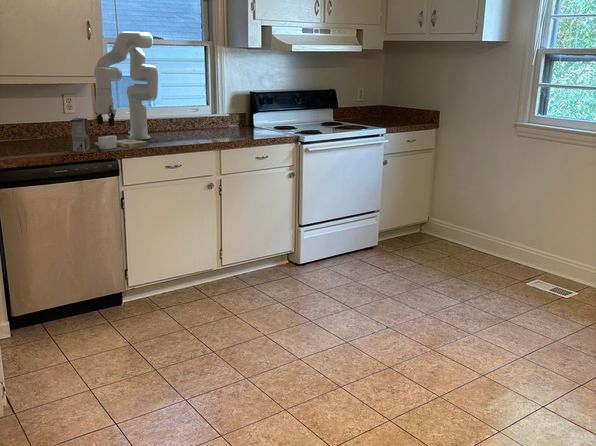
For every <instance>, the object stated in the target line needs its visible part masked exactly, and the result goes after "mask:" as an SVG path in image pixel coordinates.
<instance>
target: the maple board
mask: <svg viewBox="0 0 596 446" xmlns="http://www.w3.org/2000/svg"><path fill="white" fill-rule="evenodd" d="M146 145H149V143H148V141H144V140H136V139H129V138H126V139H117V147H122V148H128V149H131V148H138V147H147V146H146Z"/></svg>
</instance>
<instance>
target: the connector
mask: <svg viewBox="0 0 596 446" xmlns="http://www.w3.org/2000/svg"><path fill="white" fill-rule="evenodd" d="M117 138H118V137H117V135H105V136H98V137H97V141H98V142H97V141H96V142H94V145H95V146H98V149H99V150H110V149H116V148H118V146H117V140H118V139H117Z"/></svg>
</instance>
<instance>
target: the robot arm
mask: <svg viewBox="0 0 596 446" xmlns="http://www.w3.org/2000/svg"><path fill="white" fill-rule="evenodd" d="M113 43H114V44H113V46H112V48H111V50H110V51H108V52H106V53H105V54H104V55H103V56H101V57H100V58H99V59H98V60H97V62H96V64H95V67H94V70H93V76H94V79H95V88H96V89H95V90H96V94H95V104H94V106H95V107H94V112H95V116H96V120H97V121H96V122H97V125H103V124H104V116H103V115H107V116H108V118H107V120H108V121H107V122H108V127H110V126H111V127H112V126H115V117H116V114H117V113H116V112H117V109H116V108H114V107H115V106H114V100H113V95H112V94H113V93H112V82H113V83H114V82H120V81H121V80H122V78H123V72H122V70H121V68H118V67H115V66H113V65H116V64H119V63H122V62H124V61H126V59H127V57H128V55H129V61H130V62H129V76H130V79H131V80H132V81H133V82H141V83H131V84H129V85H128V86H127V88H126V94H127V101H128V106H129V108H128V109H129V124H130V130H129V131H127V133H128V134H129V135H128V136H127V137H128V138H127V139H133V140H139V141H141V140H149V139H151V135H148V134H149V133H148V117H147V116H148V115H147V106H146V105H145V102H153V101H156V100H157V98H158V91H159V72H158V69H157V66H155V65H152V64H146V55H145V53H144V51H143V50H142V49H150V48H151V47H152V46H153V44H154V38H153V36H152V34H151V33H150V32H145V31H144V32H141V31H121V32H119V33H118V34H117V36H116V39H115V42H113ZM142 82H145V83H142ZM146 82H147V83H146Z"/></svg>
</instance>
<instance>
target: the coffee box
mask: <svg viewBox="0 0 596 446" xmlns="http://www.w3.org/2000/svg"><path fill="white" fill-rule="evenodd" d="M70 127H71V139H72V151H73V152H75V153H77V152H78V153H82V152H83V153H85V152H87V151H88V150H90V149H91V148H90V147H91V146H90V145H91V144H90V135H89V134H90V133H89V123H88V118H84V117H83V118H82V117H76V118H73V119H71V120H70Z"/></svg>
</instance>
